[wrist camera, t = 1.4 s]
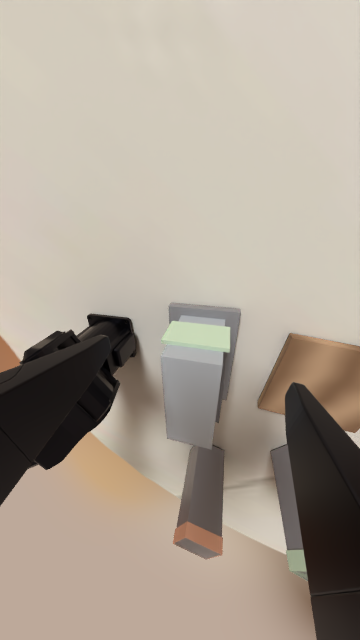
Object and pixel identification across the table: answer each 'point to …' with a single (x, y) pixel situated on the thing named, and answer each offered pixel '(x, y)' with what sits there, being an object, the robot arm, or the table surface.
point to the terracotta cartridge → (202, 504)
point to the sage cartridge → (289, 511)
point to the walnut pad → (318, 377)
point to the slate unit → (197, 369)
